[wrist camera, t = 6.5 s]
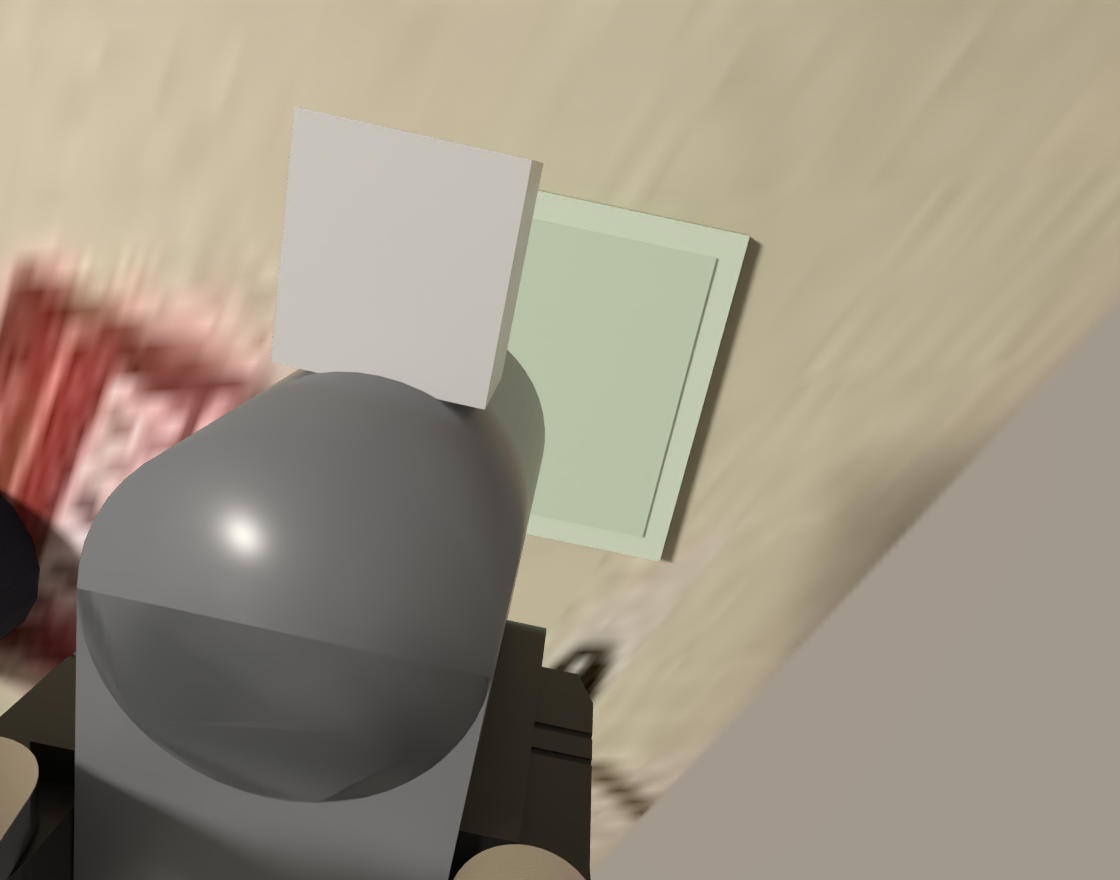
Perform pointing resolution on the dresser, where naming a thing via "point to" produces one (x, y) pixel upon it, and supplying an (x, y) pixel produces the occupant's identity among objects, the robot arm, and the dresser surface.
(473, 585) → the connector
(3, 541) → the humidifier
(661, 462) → the mat
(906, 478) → the dresser surface
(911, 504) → the dresser surface
